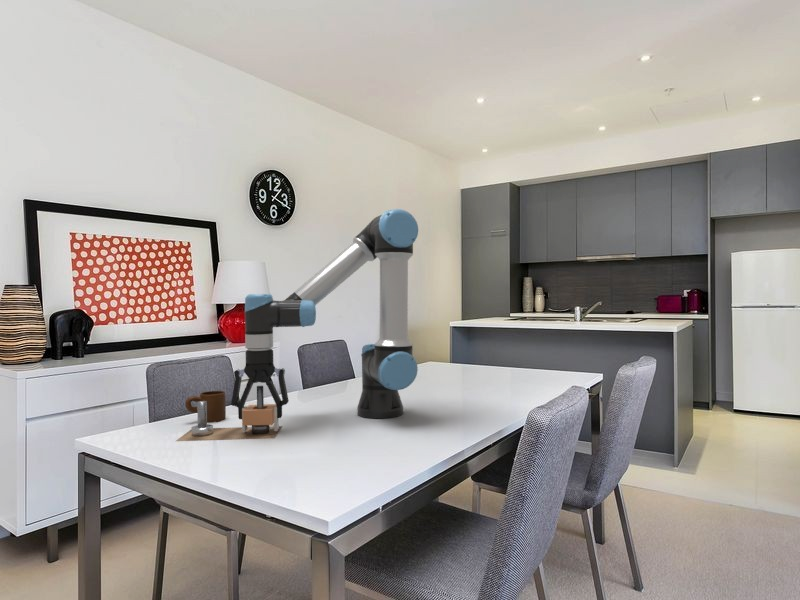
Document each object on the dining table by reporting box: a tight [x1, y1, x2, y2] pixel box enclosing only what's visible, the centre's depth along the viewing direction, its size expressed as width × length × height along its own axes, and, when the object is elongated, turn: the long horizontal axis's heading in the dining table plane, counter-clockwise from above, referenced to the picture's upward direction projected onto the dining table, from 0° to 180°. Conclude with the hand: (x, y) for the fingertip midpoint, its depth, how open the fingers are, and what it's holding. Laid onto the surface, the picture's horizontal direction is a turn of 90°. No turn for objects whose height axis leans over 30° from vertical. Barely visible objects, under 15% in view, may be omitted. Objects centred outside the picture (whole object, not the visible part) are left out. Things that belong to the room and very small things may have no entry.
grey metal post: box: [191, 401, 214, 437], centre depth 145 cm, size 6×6×9 cm
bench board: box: [175, 425, 283, 442], centre depth 145 cm, size 26×13×1 cm, turn 93°
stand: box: [251, 385, 271, 435], centre depth 146 cm, size 5×5×13 cm
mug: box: [184, 390, 227, 424], centre depth 160 cm, size 12×8×9 cm, turn 130°
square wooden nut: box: [241, 403, 277, 427], centre depth 146 cm, size 8×8×4 cm
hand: (260, 430), depth 146 cm, fingers closed on square wooden nut, 8 cm apart
